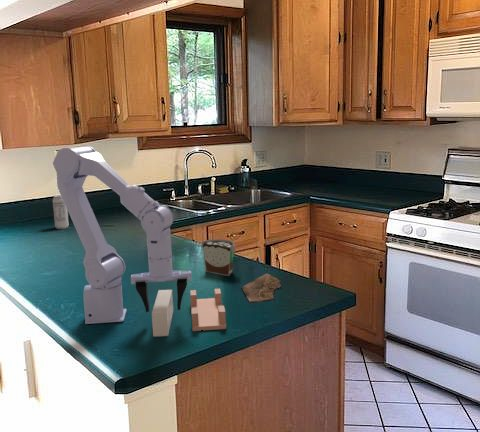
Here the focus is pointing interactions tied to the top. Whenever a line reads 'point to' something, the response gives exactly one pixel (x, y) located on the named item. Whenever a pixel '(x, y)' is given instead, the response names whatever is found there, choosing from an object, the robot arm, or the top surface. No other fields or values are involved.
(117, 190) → the robot arm
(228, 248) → the food container
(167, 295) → the strip
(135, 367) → the top surface
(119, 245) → the top surface
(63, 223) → the energy drink can
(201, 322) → the rack
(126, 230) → the top surface
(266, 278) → the wooden fragment
